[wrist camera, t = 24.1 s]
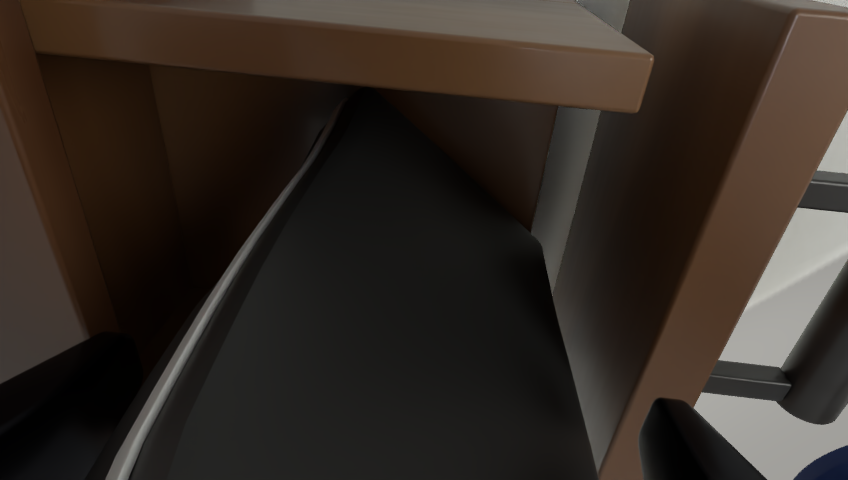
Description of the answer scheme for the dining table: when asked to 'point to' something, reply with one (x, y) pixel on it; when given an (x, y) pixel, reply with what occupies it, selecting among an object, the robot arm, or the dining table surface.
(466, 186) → the battery charger
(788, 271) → the dining table surface
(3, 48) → the cabinet
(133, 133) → the drawer
